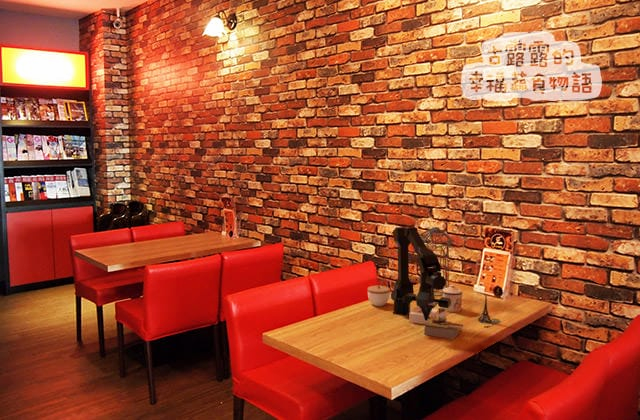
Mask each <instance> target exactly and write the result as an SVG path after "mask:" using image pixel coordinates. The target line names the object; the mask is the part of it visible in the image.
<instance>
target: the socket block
mask: <svg viewBox="0 0 640 420" xmlns="http://www.w3.org/2000/svg"><path fill="white" fill-rule="evenodd" d="M435 324H440V323H435ZM444 325H449V324H444ZM459 333H460V329H453V328H448V329H447V328H441V327H434V326H427V325H426V324H425V326H424V335H426V336H433V337H439V338H445V339H451V340H455V339H456V337H457V336H458V335H459Z"/></svg>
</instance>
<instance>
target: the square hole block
mask: <svg viewBox="0 0 640 420" xmlns="http://www.w3.org/2000/svg"><path fill="white" fill-rule="evenodd" d="M408 314H409V316H408V318H409V319H408V321H409V322H408V323H412V324H413V323H414V324H420V325H425V326H426V325H427V321H425V318H424V315H423V312H422V310H421V308H420V307H419V306H415V307H414V308H413V309H412V310H410V312H409V313H408ZM438 314H439V309H435V308H433V309H432V310H431V313H430V315H429V317H430V316H431V315H436V320H438Z"/></svg>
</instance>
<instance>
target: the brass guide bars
mask: <svg viewBox="0 0 640 420" xmlns="http://www.w3.org/2000/svg"><path fill="white" fill-rule="evenodd" d="M435 323H439V322H438V319H437V320H436V315H431V316H430V317H429V318H428V320H427V326H434V327H441V328H447V329H448V328H453V329H460V330H463V328H464V325H465V324H463V323H458V322H453V321H448V320H446V323H444V324H449V325H442V324H435Z"/></svg>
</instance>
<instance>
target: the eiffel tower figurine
mask: <svg viewBox="0 0 640 420" xmlns="http://www.w3.org/2000/svg"><path fill="white" fill-rule="evenodd" d="M484 297H485V298H484V306H483V311H482V313H481V314H480V316H479V317H478V318H477V321H478V322H479V323H480V324H491V325H484V326H483V328H485V329H489V328H491V327H493V326H496V325H497V324H498V325H499V324H500V323H502V321H501V320H500V319H499V318H492V319H491V316H490V315H489V311H488V303H487V301H488V300H487V299H488V296H487V294H485V296H484Z"/></svg>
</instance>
